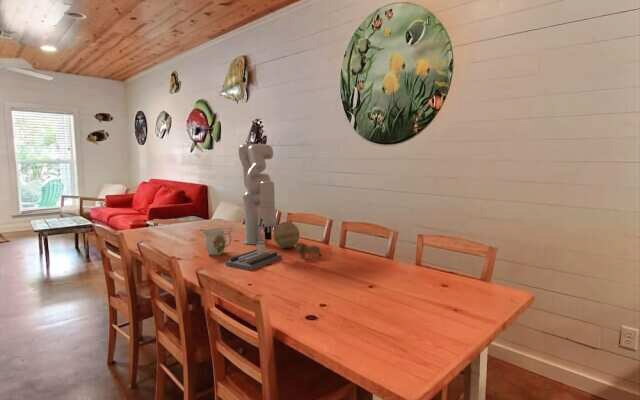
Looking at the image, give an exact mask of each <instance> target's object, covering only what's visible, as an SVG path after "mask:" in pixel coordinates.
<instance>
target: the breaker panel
mask: <svg viewBox="0 0 640 400" xmlns="http://www.w3.org/2000/svg"><path fill="white" fill-rule="evenodd" d="M282 258H283V257H282V254H279V253H278V252H277V251H275V252H271V251H270V250H265V252H263V253H260V254H258V255H257V248H256V249H254V250H251V251H248V252H245V253H242V254H239V255H236V256H233V257H230V259H229V260H227V261H225V266H226V267H230V268H231V267H233V268H237V269H241V270H246V271H253V270H255V269H256V270H257V269H258V268H260V267H263V266H266V265H268V264H271V263H273V262H275V261H278V259H279V260H281V259H282Z"/></svg>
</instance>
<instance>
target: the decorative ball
mask: <svg viewBox="0 0 640 400" xmlns="http://www.w3.org/2000/svg"><path fill="white" fill-rule="evenodd" d="M274 228H275V229H274V231H273V240H274V242H275V243H276V244H277V245H278V247H280V248H283V249H289V248H292V247H295V245H296V243H297V242H299V239H300V230H299V228H298V226H297V225H296V224H294V223H292V222H289V221H285V222H281V223H279V224H278V225H277V226H275V227H274Z"/></svg>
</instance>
